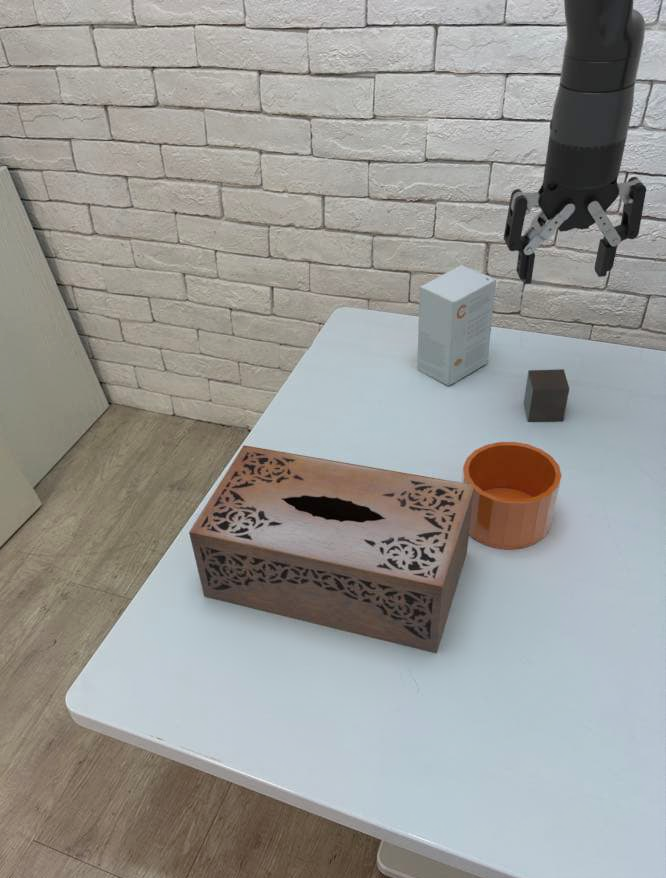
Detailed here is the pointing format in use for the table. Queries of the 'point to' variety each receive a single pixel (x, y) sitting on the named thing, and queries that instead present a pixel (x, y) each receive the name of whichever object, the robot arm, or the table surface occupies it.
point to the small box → (455, 324)
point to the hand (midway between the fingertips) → (562, 277)
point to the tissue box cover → (335, 544)
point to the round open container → (511, 494)
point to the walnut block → (546, 395)
